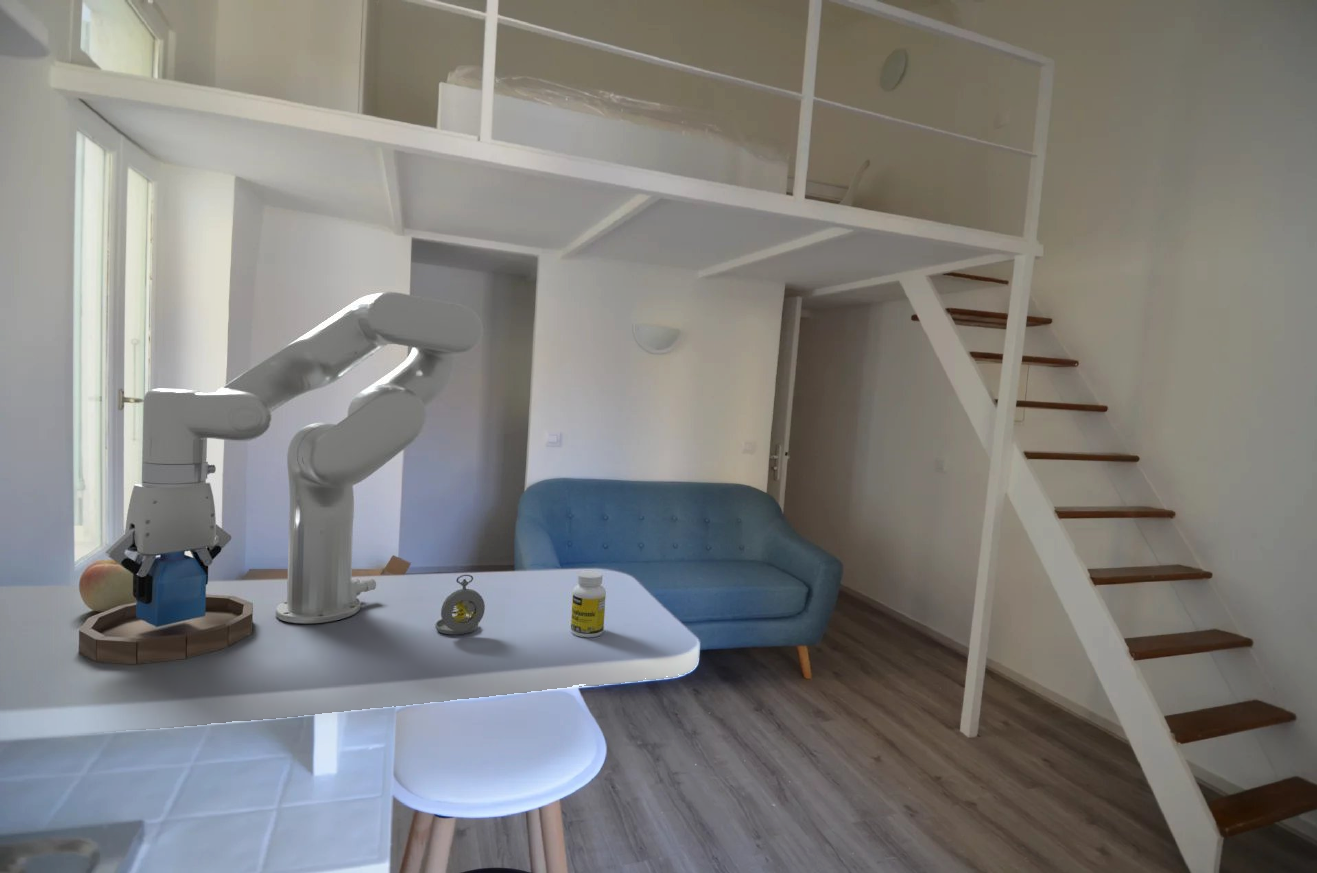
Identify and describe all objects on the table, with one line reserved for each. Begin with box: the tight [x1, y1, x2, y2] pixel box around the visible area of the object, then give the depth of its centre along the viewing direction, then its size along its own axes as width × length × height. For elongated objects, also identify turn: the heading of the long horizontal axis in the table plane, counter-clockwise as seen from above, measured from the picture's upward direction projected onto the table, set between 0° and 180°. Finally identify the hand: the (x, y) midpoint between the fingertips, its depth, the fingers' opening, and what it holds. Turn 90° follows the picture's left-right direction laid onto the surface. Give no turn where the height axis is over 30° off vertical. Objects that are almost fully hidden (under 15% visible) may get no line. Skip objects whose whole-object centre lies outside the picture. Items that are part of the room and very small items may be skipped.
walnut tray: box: [78, 593, 254, 665], centre depth 97 cm, size 20×20×3 cm
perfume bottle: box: [136, 551, 207, 627], centre depth 97 cm, size 6×6×12 cm
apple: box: [78, 559, 137, 613], centre depth 106 cm, size 9×9×8 cm
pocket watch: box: [434, 574, 486, 635], centre depth 105 cm, size 8×8×10 cm
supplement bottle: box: [570, 570, 607, 638], centre depth 109 cm, size 5×5×10 cm
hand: (171, 595), depth 97 cm, fingers closed on perfume bottle, 6 cm apart
